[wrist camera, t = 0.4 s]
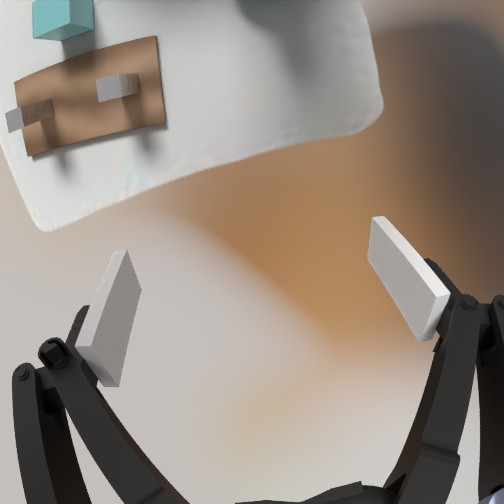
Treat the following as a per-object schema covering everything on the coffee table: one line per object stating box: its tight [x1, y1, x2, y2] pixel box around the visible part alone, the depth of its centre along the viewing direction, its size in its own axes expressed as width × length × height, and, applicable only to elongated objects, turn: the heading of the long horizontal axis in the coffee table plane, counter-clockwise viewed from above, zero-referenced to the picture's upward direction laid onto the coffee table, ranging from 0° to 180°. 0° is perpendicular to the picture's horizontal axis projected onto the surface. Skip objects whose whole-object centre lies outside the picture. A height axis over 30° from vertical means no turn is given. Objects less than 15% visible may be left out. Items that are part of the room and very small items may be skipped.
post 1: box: [5, 98, 54, 133], centre depth 29 cm, size 3×3×8 cm
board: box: [14, 36, 166, 157], centre depth 33 cm, size 12×22×1 cm, turn 94°
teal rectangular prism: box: [32, 0, 94, 41], centre depth 24 cm, size 5×5×8 cm
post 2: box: [96, 73, 140, 102], centre depth 29 cm, size 3×3×8 cm
